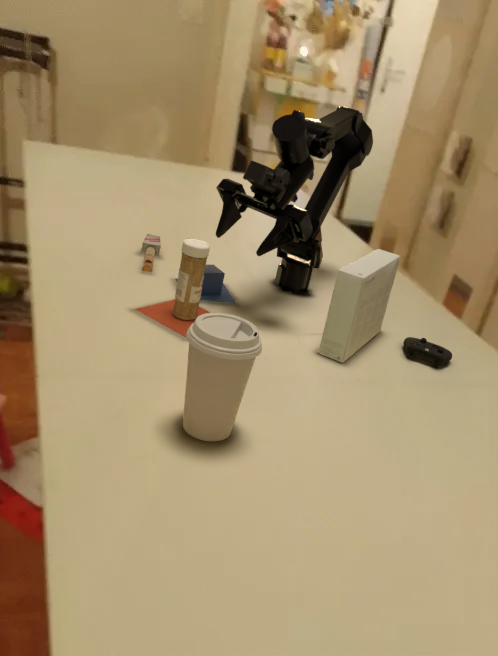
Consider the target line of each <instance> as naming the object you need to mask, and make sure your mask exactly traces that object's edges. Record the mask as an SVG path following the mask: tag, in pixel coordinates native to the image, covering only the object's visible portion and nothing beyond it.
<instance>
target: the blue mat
mask: <svg viewBox="0 0 498 656" xmlns="http://www.w3.org/2000/svg"><path fill="white" fill-rule="evenodd" d="M175 281H176V282H177V281H178V278H175ZM200 301H203V302H214V303H223V304H224V303H226V304H237V303H236V300H235V299H234V297H233V296H232V294H231V292H230V291H229V290H228V288H227V287H226V285H225V284H224V283H223V285H222V291H221V295H201V297H200Z"/></svg>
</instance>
